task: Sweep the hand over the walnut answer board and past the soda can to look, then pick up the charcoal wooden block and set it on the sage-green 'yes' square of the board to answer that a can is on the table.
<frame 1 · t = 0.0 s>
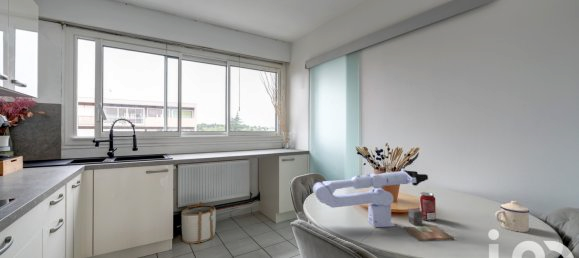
hand: (422, 175, 110), 22 cm above the table, tool horizontal, fingers open, 7 cm apart
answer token: (415, 223, 109), on the table
answer board: (427, 234, 97), on the table
teacup with lid: (510, 228, 103), on the table
soda can: (427, 219, 114), on the table
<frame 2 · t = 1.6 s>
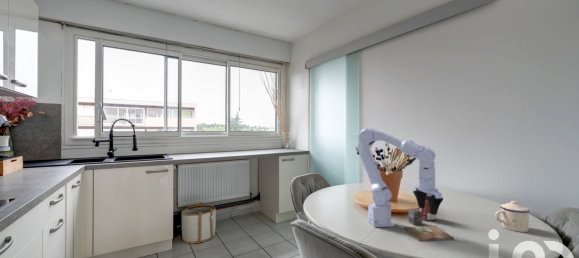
hand: (427, 211, 98), 9 cm above the table, tool pointing down, fingers open, 7 cm apart
nothing on the table moved.
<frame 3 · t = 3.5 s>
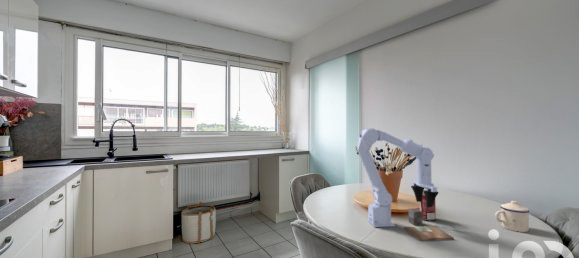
hand: (424, 204, 107), 9 cm above the table, tool pointing down, fingers open, 7 cm apart
nothing on the table moved.
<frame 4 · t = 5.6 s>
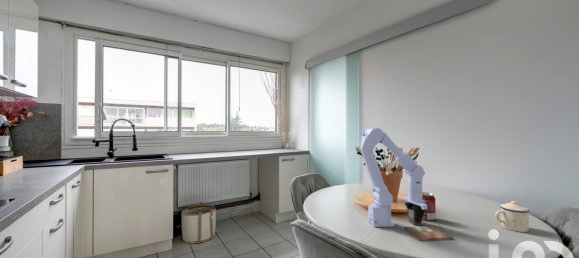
hand: (415, 220, 109), 1 cm above the table, tool pointing down, fingers closed on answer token, 4 cm apart
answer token: (415, 223, 109), on the table, touching gripper
everything else where it was.
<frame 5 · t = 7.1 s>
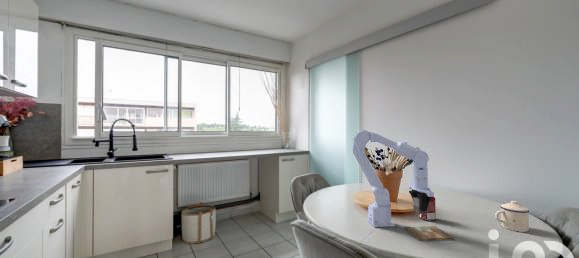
hand: (420, 208, 103), 8 cm above the table, tool pointing down, fingers closed on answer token, 4 cm apart
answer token: (420, 212, 103), point 7 cm above the table, touching gripper
everything else where it was.
when the fingers open (4 cm above the table, at t = 8.6 s): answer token drops 1 cm, resting on answer board.
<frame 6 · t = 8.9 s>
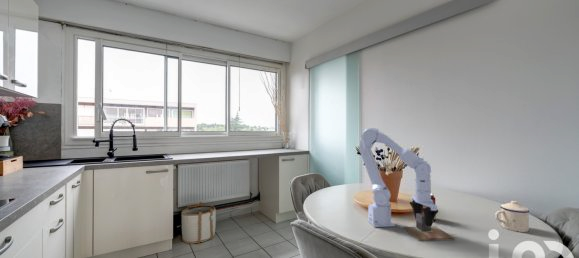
hand: (423, 222, 100), 4 cm above the table, tool pointing down, fingers open, 7 cm apart
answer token: (423, 229, 100), point 1 cm above the table, touching answer board
everything else where it was.
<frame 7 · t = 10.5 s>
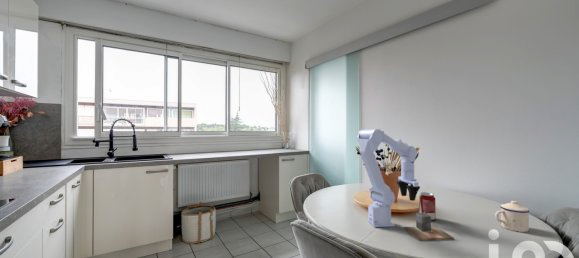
hand: (408, 198, 116), 9 cm above the table, tool pointing down, fingers open, 7 cm apart
nothing on the table moved.
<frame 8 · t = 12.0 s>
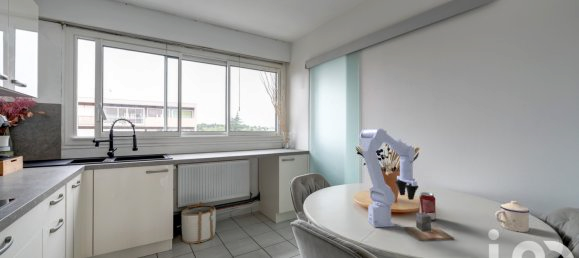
hand: (406, 197, 118), 9 cm above the table, tool pointing down, fingers open, 7 cm apart
nothing on the table moved.
at the end: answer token 0.2 cm from the target spot on the answer board, point 0.9 cm above the answer board's base; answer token tilted 0°; soda can moved 0.2 cm from its start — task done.
